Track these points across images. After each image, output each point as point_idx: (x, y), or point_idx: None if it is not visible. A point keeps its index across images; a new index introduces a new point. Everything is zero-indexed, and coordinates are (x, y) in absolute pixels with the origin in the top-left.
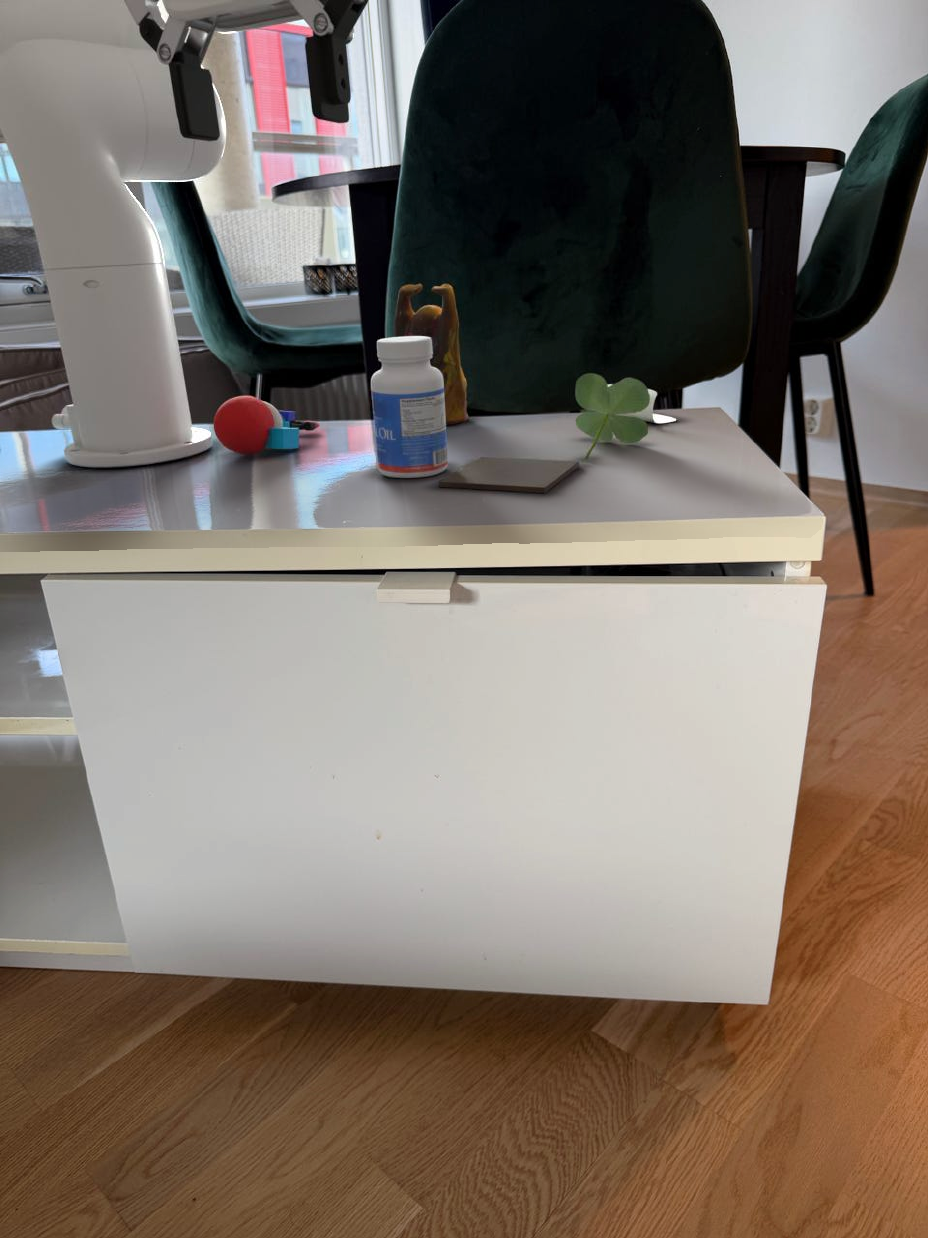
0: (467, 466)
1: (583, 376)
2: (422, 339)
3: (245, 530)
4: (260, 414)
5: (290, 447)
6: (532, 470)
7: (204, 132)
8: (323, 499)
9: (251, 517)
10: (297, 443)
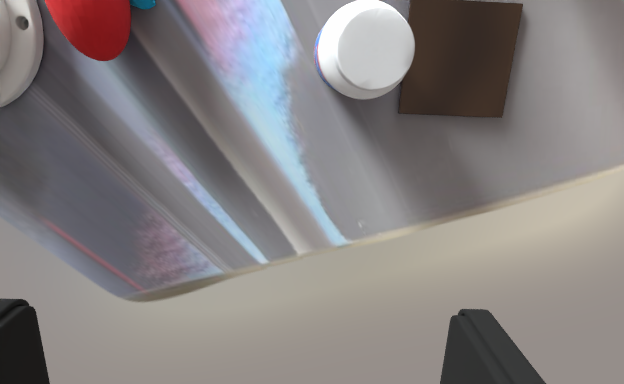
0: None
1: None
2: (407, 57)
3: (295, 257)
4: (117, 9)
5: None
6: (480, 54)
7: (40, 369)
8: (310, 170)
9: (279, 229)
10: None
